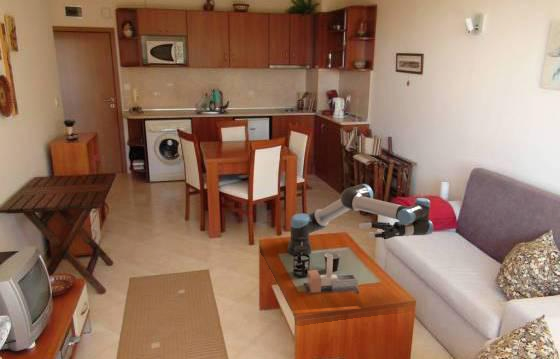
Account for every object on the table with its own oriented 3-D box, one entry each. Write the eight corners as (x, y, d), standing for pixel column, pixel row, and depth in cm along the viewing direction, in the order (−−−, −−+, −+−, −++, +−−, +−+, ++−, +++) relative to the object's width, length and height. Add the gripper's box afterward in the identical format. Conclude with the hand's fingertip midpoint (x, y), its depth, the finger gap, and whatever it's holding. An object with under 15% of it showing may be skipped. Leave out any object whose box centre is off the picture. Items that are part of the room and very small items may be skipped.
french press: (311, 280, 245) (313, 241, 239) (295, 282, 243) (295, 242, 237) (306, 271, 256) (307, 233, 250) (290, 272, 254) (290, 234, 249)
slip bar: (313, 282, 235) (313, 254, 231) (335, 281, 237) (336, 253, 233) (314, 286, 231) (315, 257, 227) (337, 285, 233) (338, 256, 229)
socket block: (307, 283, 238) (307, 270, 236) (316, 283, 238) (316, 269, 237) (311, 292, 228) (311, 279, 226) (320, 292, 229) (321, 278, 227)
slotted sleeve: (303, 285, 239) (303, 274, 237) (352, 282, 243) (352, 271, 241) (307, 296, 227) (308, 285, 226) (359, 293, 231) (359, 281, 230)
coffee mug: (338, 275, 251) (339, 259, 248) (323, 274, 252) (323, 257, 250) (340, 267, 262) (340, 251, 259) (325, 265, 263) (325, 249, 261)
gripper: (412, 244, 222) (371, 246, 219) (393, 227, 246) (355, 229, 243) (413, 230, 220) (372, 232, 217) (393, 214, 244) (356, 215, 241)
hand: (363, 230), depth 230 cm, fingers open, 13 cm apart
